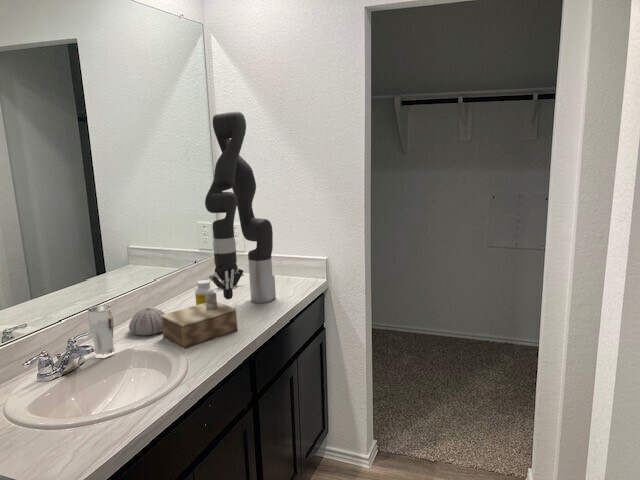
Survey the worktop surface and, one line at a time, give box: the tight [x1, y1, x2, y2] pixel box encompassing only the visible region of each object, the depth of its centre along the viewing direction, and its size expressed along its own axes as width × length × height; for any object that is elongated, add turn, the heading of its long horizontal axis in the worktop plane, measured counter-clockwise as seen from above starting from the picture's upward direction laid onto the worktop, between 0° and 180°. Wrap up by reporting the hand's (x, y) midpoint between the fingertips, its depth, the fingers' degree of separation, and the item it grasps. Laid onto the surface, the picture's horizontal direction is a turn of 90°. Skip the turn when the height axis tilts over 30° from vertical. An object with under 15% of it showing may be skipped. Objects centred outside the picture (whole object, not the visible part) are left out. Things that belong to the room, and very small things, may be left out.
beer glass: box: [87, 304, 116, 355], centre depth 156 cm, size 7×7×15 cm
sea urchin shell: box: [128, 307, 166, 336], centre depth 176 cm, size 13×14×8 cm
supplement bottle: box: [194, 279, 215, 306], centre depth 190 cm, size 7×7×13 cm
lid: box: [161, 292, 237, 327], centre depth 170 cm, size 20×14×6 cm
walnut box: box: [162, 310, 238, 350], centre depth 171 cm, size 20×14×7 cm
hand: (228, 298), depth 178 cm, fingers closed
